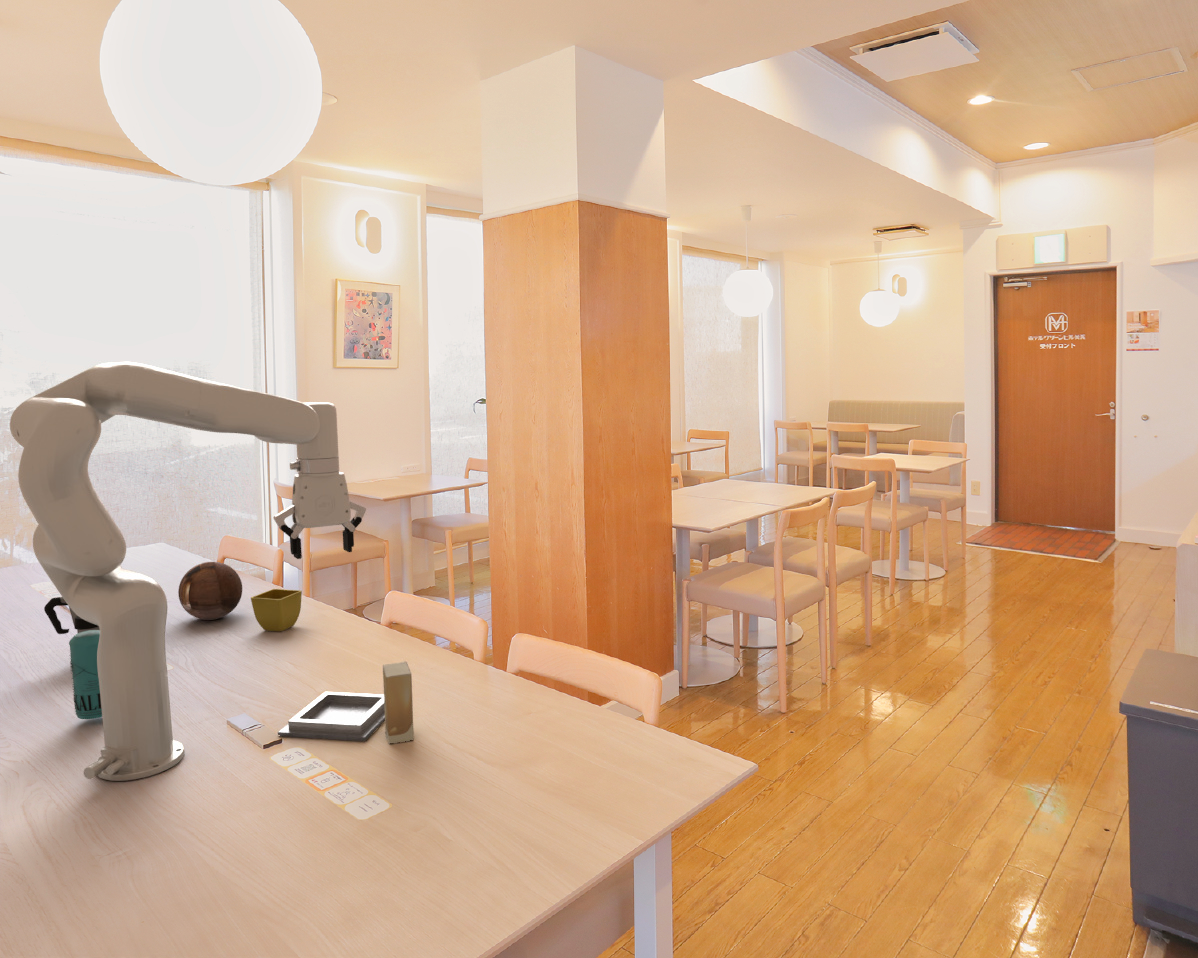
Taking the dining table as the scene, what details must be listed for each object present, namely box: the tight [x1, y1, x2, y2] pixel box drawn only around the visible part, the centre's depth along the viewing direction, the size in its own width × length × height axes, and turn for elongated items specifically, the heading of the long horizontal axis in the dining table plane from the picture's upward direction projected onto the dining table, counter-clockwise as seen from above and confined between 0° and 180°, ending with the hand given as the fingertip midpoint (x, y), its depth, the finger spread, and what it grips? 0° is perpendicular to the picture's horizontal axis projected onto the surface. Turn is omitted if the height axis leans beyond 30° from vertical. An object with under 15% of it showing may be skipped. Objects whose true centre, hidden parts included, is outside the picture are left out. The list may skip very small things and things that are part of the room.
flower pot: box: [250, 588, 303, 633], centre depth 200 cm, size 9×9×9 cm
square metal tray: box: [277, 691, 385, 743], centre depth 147 cm, size 16×16×2 cm
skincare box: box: [382, 661, 415, 745], centre depth 139 cm, size 6×4×12 cm
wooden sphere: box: [177, 561, 243, 621], centre depth 209 cm, size 15×15×15 cm
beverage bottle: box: [68, 616, 102, 720], centre depth 146 cm, size 6×7×20 cm
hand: (323, 554), depth 156 cm, fingers open, 9 cm apart
